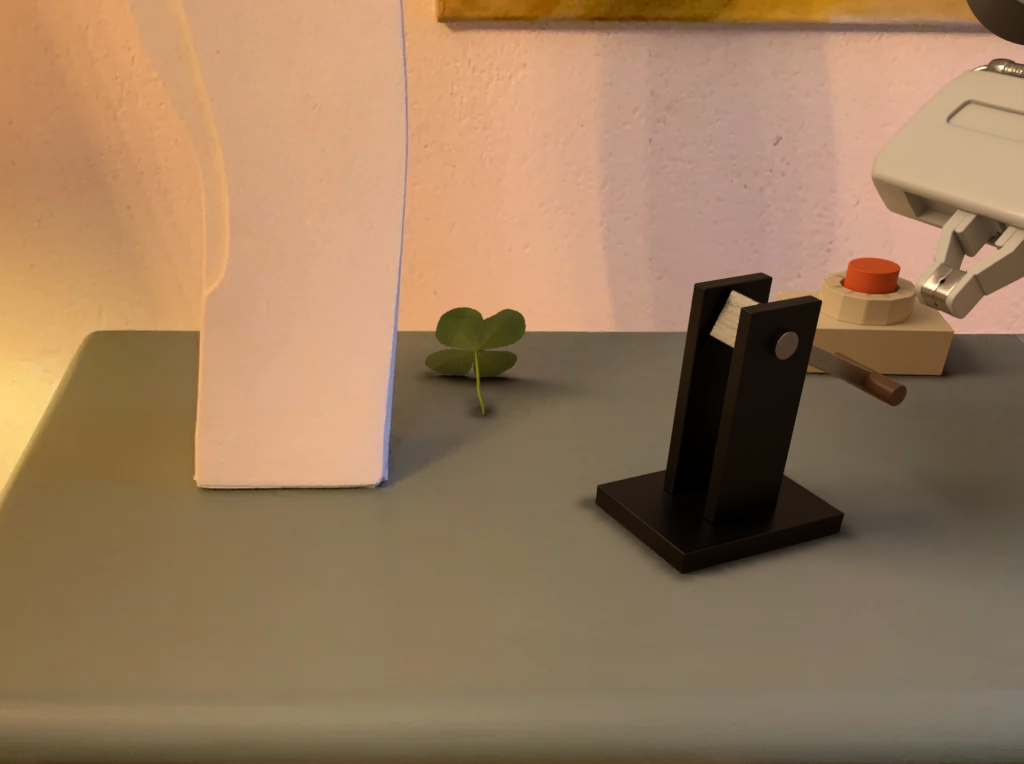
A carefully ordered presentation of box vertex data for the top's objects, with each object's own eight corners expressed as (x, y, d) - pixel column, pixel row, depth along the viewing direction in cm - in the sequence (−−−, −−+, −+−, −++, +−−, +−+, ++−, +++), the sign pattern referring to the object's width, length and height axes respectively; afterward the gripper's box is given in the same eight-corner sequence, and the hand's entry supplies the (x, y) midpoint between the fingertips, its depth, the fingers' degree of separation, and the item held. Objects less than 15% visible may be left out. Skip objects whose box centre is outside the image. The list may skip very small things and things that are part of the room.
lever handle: (828, 384, 69) (850, 345, 68) (892, 419, 65) (917, 378, 64) (690, 324, 62) (713, 279, 61) (753, 359, 58) (779, 312, 57)
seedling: (469, 464, 84) (463, 387, 86) (557, 415, 79) (549, 335, 81) (401, 424, 79) (396, 343, 81) (491, 369, 74) (484, 284, 76)
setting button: (887, 282, 85) (893, 257, 84) (899, 299, 83) (906, 273, 81) (838, 281, 85) (843, 256, 84) (849, 298, 83) (855, 272, 82)
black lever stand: (744, 468, 73) (787, 253, 64) (839, 532, 66) (901, 303, 58) (594, 503, 69) (619, 280, 60) (681, 573, 63) (722, 336, 54)
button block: (912, 335, 90) (931, 268, 87) (941, 375, 84) (963, 304, 81) (770, 332, 90) (783, 265, 87) (789, 372, 84) (804, 301, 81)
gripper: (961, 12, 66) (790, 220, 69) (1304, 68, 52) (1069, 326, 55) (994, 95, 70) (832, 287, 73) (1319, 168, 56) (1100, 401, 59)
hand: (935, 305), depth 64 cm, fingers closed
